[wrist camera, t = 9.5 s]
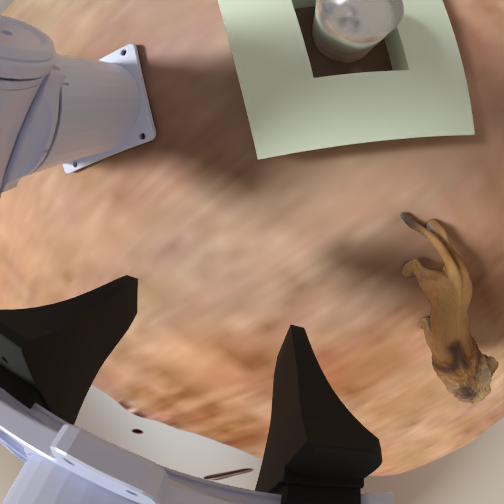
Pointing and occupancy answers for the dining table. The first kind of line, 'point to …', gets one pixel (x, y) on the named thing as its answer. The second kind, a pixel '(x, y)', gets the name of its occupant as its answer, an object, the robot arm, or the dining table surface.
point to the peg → (353, 26)
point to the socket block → (345, 81)
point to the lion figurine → (450, 318)
